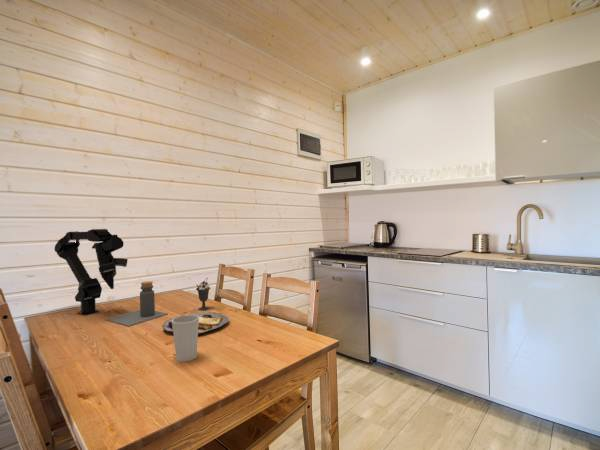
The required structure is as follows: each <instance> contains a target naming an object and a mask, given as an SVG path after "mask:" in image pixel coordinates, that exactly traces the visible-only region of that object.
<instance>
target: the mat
mask: <svg viewBox="0 0 600 450" xmlns="http://www.w3.org/2000/svg"><path fill="white" fill-rule="evenodd" d="M167 315H169V314H168V313H167V312H162V311H157V310H155V314H154V315H153V316H149V317H141V316H140V309H136V310H133V311H130V312H125V313H123V314H118V315H115V316H111V317H108V318H105V319H104V320H105V321H108V322H111V323H116V324H117V325H121V326H125V327H128V328H129V327H132V326H136V325H138V324H142V323H145V322H148V321H152V320H154V319H158V318H161V317H163V316H167Z"/></svg>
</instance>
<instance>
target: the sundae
mask: <svg viewBox="0 0 600 450" xmlns="http://www.w3.org/2000/svg"><path fill="white" fill-rule="evenodd" d="M207 280H208V277H206V278H205V280H203V281H202V282H200V284H199V285H198V284H196V286H197V288H196V289H195V290H196V291H197V293H198V300H199V301H200V302H201V307H199V308H198V311H207V310H209V309H210V306H209V307H208V306H206V301H208V299H209V293H210V290H211V286H210V285H209V284H208V281H207Z"/></svg>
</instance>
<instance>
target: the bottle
mask: <svg viewBox="0 0 600 450" xmlns="http://www.w3.org/2000/svg"><path fill="white" fill-rule="evenodd" d="M153 283H154V282H153V280H148V281H142V282H140V284H141V286H140V289H141V291H140V292H139V310H140V316H141V317H149V316H153V315H154V314H155V311H156V307H155V305H156V304H155V290H154V289H153V288H154V285H153Z"/></svg>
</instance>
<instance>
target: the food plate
mask: <svg viewBox="0 0 600 450" xmlns="http://www.w3.org/2000/svg"><path fill="white" fill-rule="evenodd" d="M183 315H197V316H199V325H198V334H202V333H205V332H208V331H212V330H214V329H215V330H216V329H217V328H221V327H222V326H224V325H225V324H227V323H228V322H229V321H230V318H229V317H228V315H225V314H222V313H220V312H194V313H190V312H188V311H185V312H184V313H182V315H181V316H183ZM179 316H180V315H179ZM179 316H175V317H172V318H169V319H168V320H166V321H165V322H164V323H163V325H162V328H163V330H164V331H166V332H173V328H172V319H174V318H176V317H179ZM213 326H214V327H213Z"/></svg>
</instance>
